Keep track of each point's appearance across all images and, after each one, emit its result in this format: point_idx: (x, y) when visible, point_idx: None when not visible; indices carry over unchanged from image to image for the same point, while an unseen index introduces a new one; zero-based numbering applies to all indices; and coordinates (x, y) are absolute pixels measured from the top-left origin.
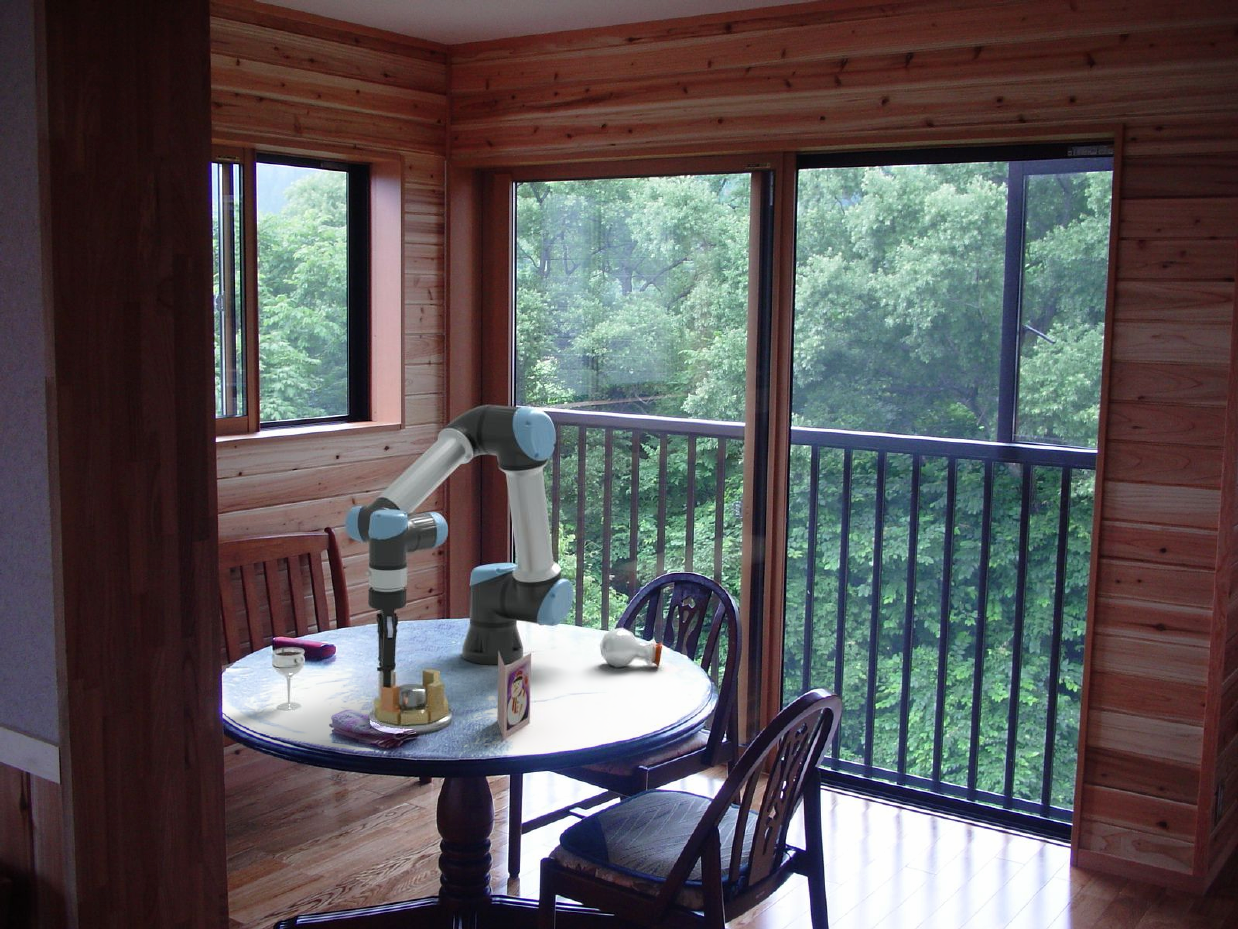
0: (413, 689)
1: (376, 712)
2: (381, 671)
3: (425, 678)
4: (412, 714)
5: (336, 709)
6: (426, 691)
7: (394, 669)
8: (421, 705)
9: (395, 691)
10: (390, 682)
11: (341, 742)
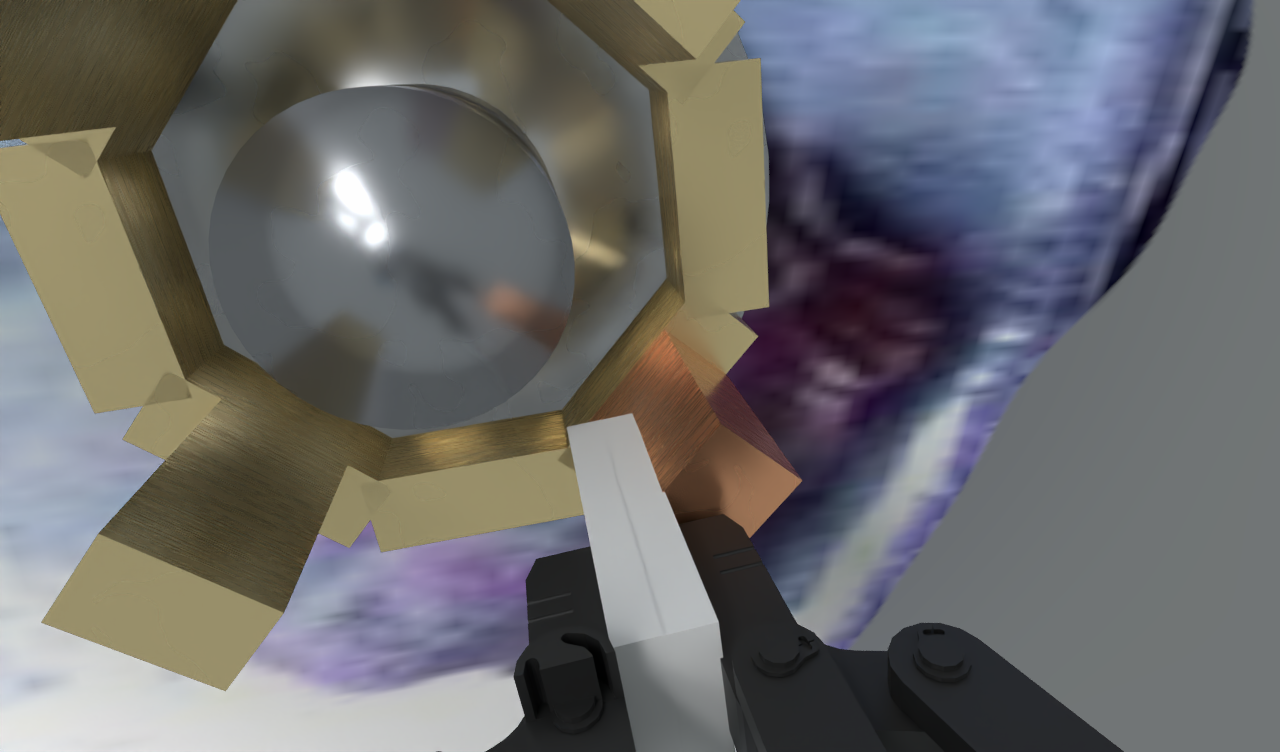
0: (446, 244)
1: None
2: (729, 736)
3: (14, 94)
4: (764, 207)
5: (229, 695)
6: (125, 76)
7: (962, 630)
8: (514, 128)
9: (755, 439)
10: (750, 544)
11: (809, 570)
